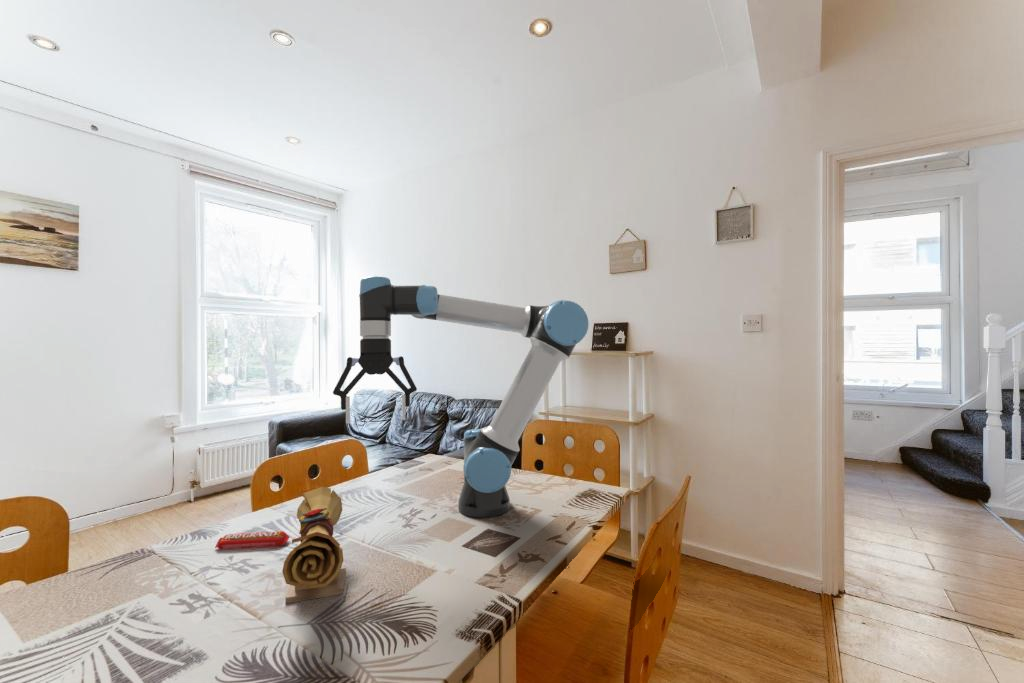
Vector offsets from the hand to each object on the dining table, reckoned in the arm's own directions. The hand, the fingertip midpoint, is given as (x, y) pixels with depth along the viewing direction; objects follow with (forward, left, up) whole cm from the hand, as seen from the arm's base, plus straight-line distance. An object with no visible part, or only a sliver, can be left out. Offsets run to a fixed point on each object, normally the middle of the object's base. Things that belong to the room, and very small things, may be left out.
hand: (376, 421), depth 110 cm
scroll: (+11, +22, -23) cm, 33 cm away
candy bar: (+28, -2, -29) cm, 41 cm away
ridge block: (+11, +22, -29) cm, 38 cm away
